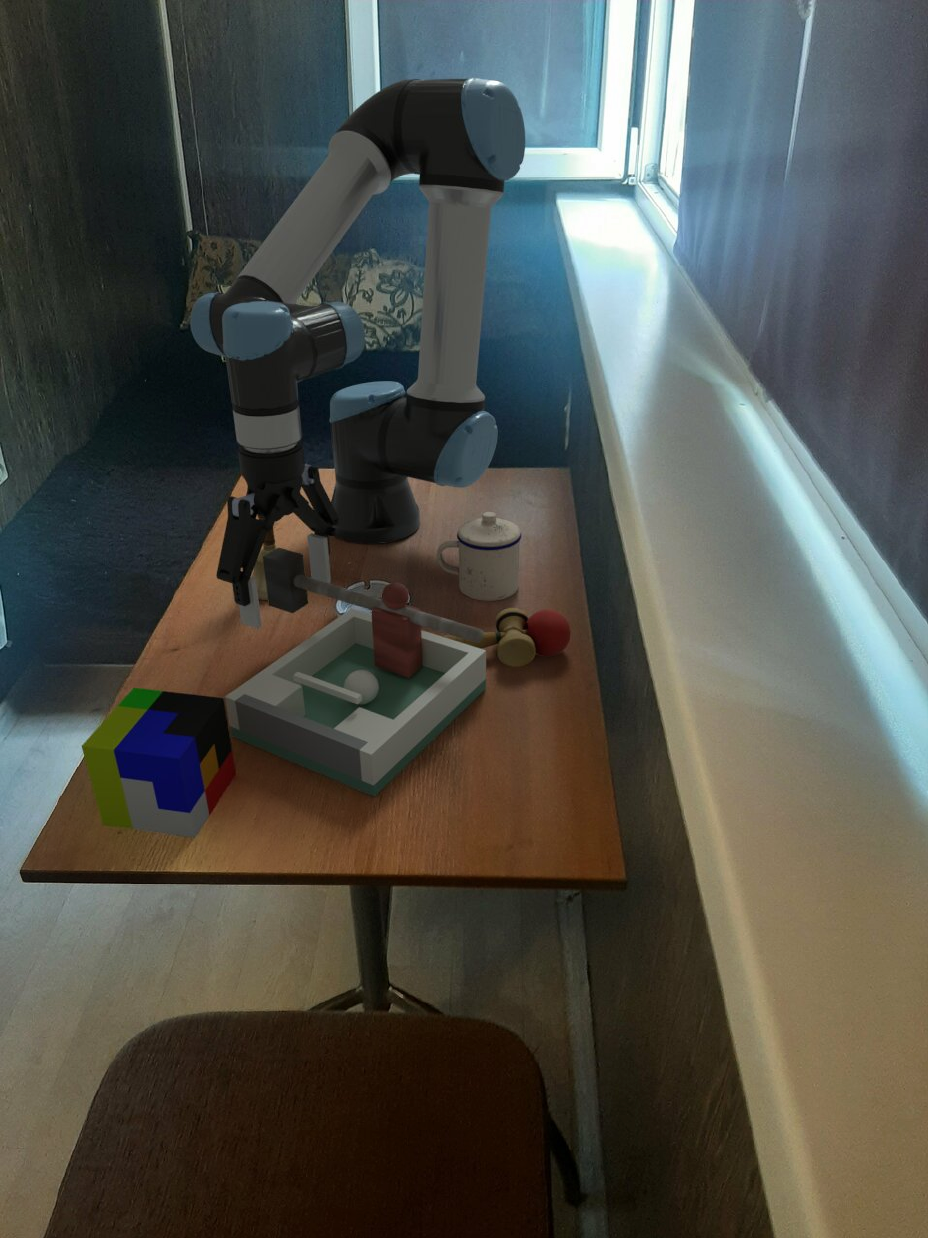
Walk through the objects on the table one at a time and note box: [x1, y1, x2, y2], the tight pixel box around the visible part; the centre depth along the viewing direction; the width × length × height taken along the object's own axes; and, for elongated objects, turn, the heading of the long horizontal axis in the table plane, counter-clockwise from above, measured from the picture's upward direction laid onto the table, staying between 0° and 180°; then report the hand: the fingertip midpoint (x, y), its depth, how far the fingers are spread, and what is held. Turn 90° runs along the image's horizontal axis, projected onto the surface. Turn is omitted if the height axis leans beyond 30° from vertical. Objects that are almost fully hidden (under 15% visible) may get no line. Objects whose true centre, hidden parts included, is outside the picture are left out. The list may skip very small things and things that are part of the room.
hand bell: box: [251, 514, 278, 601], centre depth 134 cm, size 8×8×16 cm
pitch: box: [224, 608, 487, 797], centre depth 109 cm, size 23×20×7 cm
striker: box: [263, 547, 484, 678], centre depth 114 cm, size 3×30×11 cm, turn 59°
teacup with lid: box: [436, 511, 522, 602], centre depth 135 cm, size 12×9×12 cm
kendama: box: [440, 607, 572, 667], centre depth 121 cm, size 8×6×18 cm
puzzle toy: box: [81, 687, 237, 839], centre depth 96 cm, size 10×10×10 cm
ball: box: [344, 670, 379, 705], centre depth 109 cm, size 4×4×4 cm
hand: (287, 602), depth 121 cm, fingers open, 13 cm apart
